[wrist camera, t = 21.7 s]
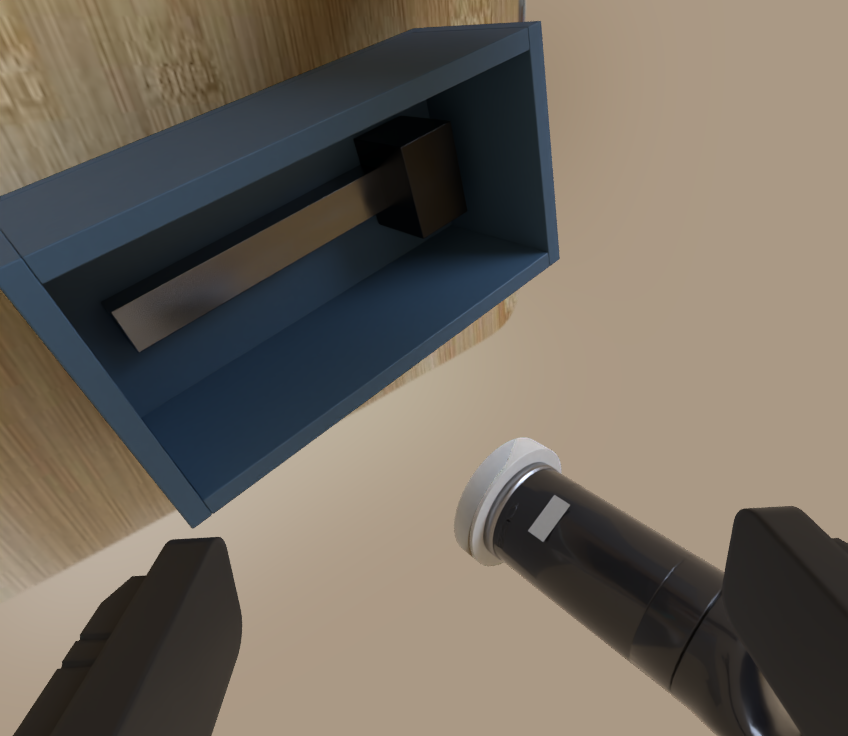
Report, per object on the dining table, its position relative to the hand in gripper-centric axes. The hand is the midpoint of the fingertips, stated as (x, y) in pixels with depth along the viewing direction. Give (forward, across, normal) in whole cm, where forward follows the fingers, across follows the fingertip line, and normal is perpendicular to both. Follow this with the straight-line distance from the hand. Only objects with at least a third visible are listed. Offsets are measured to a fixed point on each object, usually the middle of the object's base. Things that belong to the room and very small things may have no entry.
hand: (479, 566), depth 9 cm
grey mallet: (+19, +7, -3) cm, 21 cm away
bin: (+20, +7, -3) cm, 21 cm away
